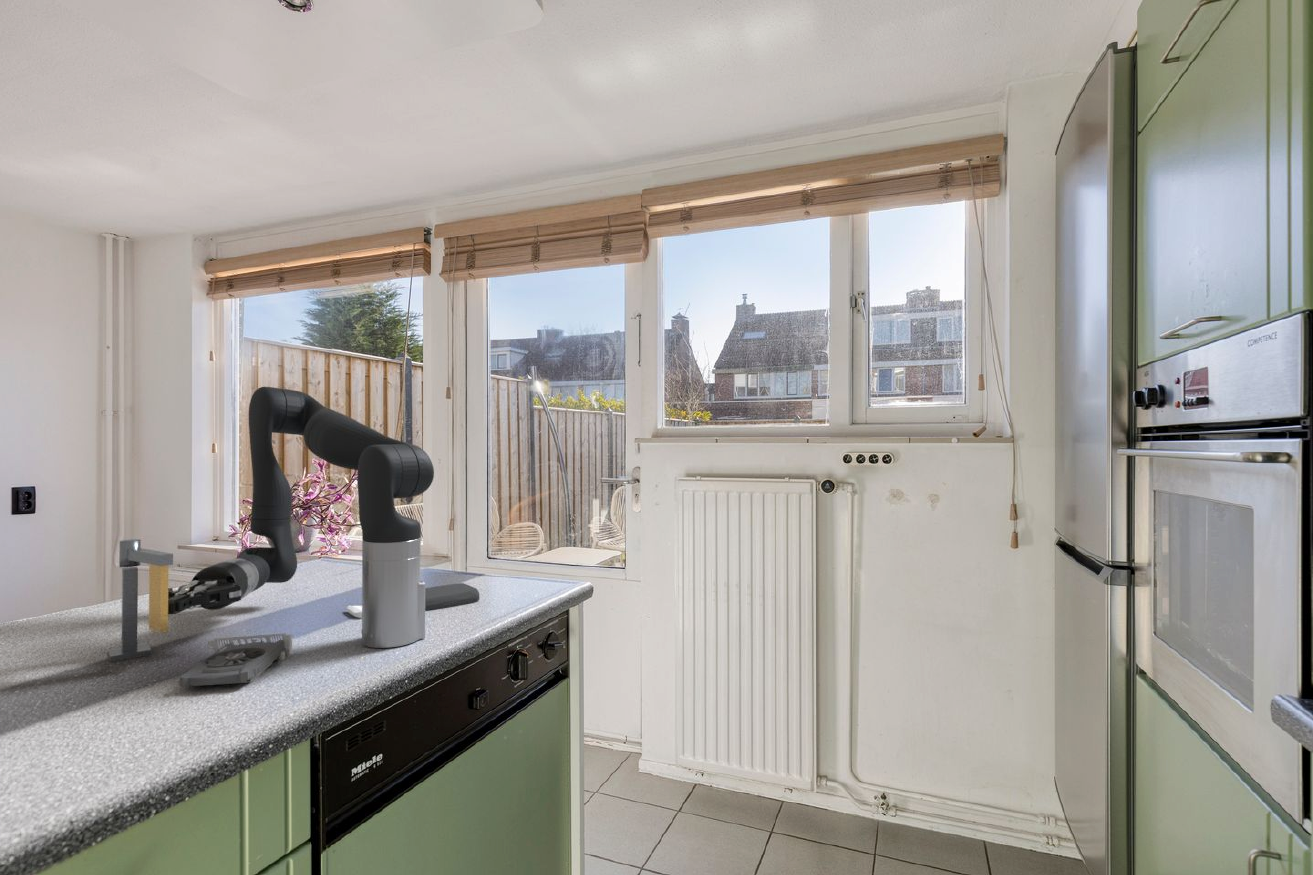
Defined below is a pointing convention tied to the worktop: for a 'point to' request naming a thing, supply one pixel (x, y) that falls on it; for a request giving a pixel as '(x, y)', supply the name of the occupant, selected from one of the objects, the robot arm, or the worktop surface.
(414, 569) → the robot arm
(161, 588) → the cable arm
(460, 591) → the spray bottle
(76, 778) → the worktop surface
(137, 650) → the mast
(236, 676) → the graphics card
